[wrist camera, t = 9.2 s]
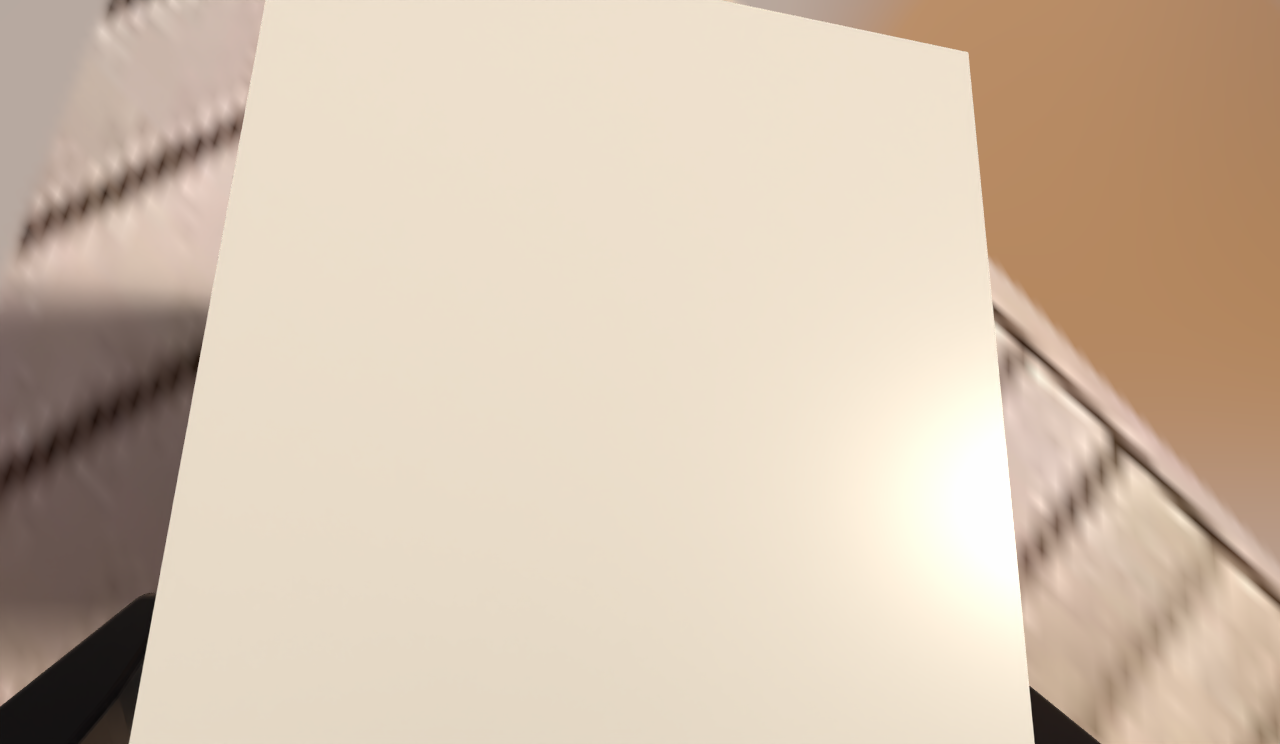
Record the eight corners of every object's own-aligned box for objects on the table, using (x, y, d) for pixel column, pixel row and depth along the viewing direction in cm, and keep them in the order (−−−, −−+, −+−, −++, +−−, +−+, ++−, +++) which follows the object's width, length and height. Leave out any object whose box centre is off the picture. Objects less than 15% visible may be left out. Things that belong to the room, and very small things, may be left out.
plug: (673, 613, 17) (1034, 746, 6) (363, 611, 15) (122, 784, 5) (678, 332, 18) (967, 52, 8) (398, 305, 17) (282, -93, 6)
